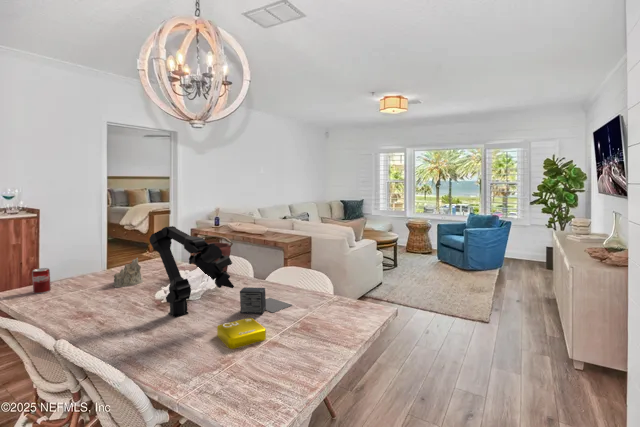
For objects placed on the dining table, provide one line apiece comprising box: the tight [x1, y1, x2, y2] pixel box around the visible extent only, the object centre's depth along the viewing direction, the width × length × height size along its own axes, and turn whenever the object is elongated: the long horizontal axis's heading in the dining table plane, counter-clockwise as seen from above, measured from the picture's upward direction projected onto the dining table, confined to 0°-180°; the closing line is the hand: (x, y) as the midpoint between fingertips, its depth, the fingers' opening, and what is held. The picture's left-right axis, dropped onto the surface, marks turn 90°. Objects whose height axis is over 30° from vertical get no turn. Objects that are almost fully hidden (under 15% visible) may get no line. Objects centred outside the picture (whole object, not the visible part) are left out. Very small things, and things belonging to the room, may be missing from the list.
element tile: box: [216, 317, 267, 350], centre depth 136 cm, size 15×15×5 cm
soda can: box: [31, 267, 52, 295], centre depth 185 cm, size 7×7×12 cm
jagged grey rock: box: [112, 257, 144, 288], centre depth 203 cm, size 16×16×15 cm
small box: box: [239, 286, 267, 315], centre depth 162 cm, size 11×6×10 cm, turn 84°
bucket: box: [193, 234, 234, 273], centre depth 222 cm, size 24×22×25 cm
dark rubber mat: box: [265, 297, 293, 314], centre depth 171 cm, size 13×16×1 cm
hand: (233, 287), depth 154 cm, fingers closed
